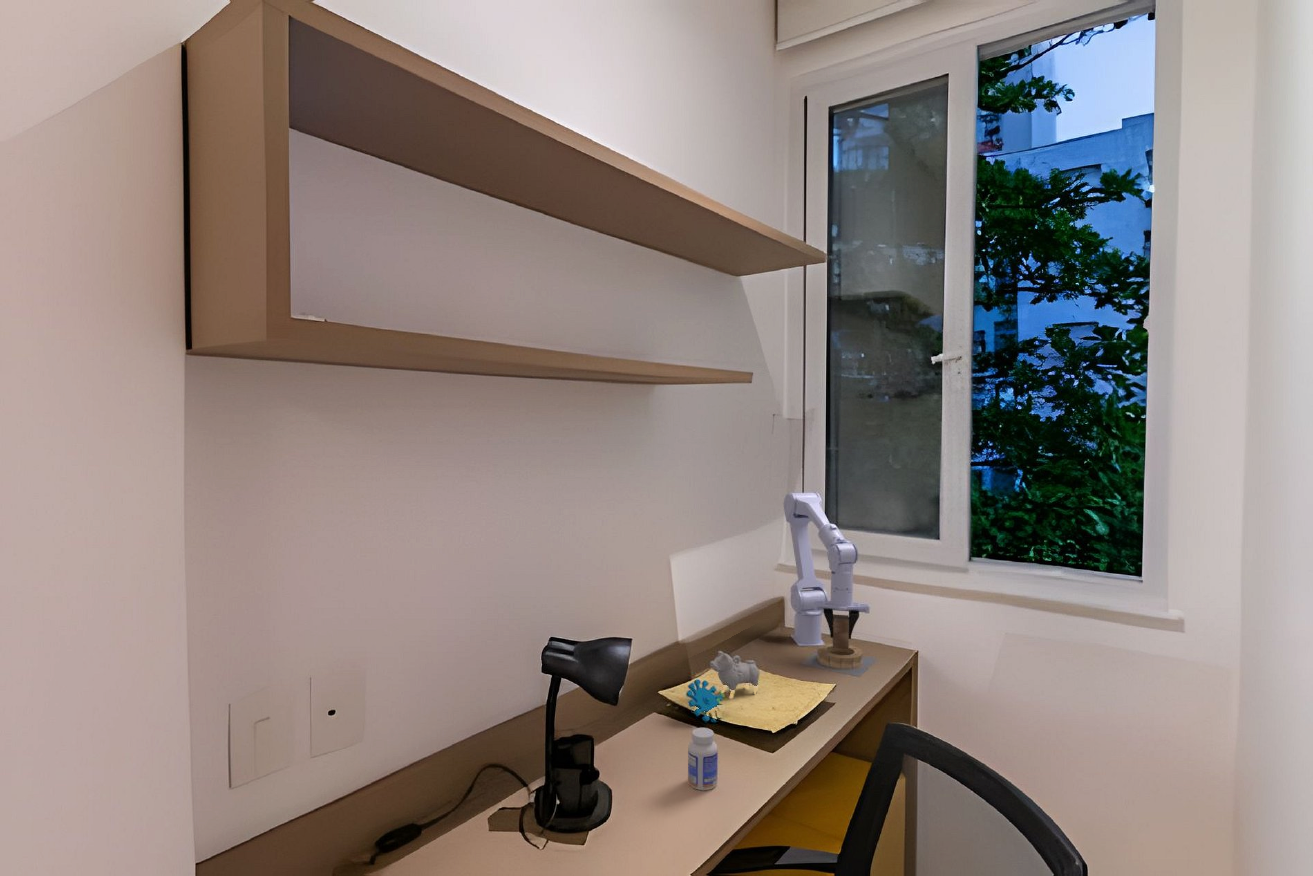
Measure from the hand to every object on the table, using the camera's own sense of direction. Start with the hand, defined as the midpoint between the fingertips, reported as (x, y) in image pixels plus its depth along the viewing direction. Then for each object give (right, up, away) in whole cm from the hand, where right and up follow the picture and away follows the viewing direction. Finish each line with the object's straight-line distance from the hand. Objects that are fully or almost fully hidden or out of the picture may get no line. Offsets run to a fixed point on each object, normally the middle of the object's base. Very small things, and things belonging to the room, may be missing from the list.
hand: (840, 637), depth 198 cm
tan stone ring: (0, -7, 0) cm, 7 cm away
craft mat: (0, -7, 0) cm, 7 cm away
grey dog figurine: (-31, -8, -21) cm, 38 cm away
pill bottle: (-41, -10, -63) cm, 76 cm away
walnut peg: (0, -2, 0) cm, 2 cm away
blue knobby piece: (-39, -9, -34) cm, 52 cm away
